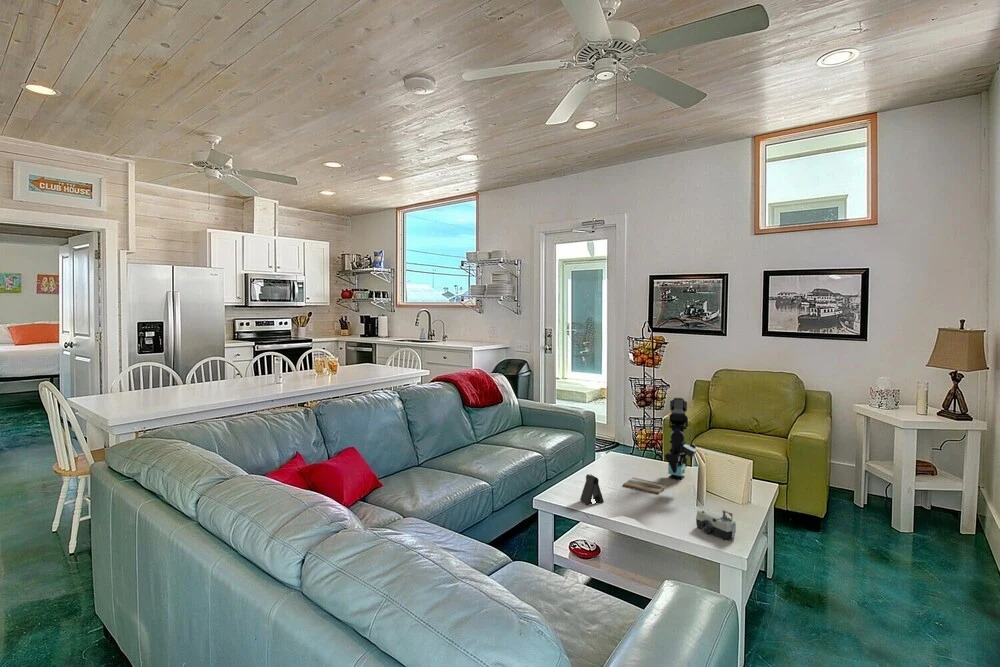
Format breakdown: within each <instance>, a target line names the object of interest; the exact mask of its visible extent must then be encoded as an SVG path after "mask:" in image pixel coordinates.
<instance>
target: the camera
mask: <svg viewBox="0 0 1000 667" xmlns="http://www.w3.org/2000/svg"><path fill="white" fill-rule="evenodd" d="M726 513H727V514H726ZM728 515H729V516H730V517H728ZM695 522H696V523H695V524H696V528H697V529H699V530H701V531H702V532H703V533H704V534H705V535H709V534H710V535H712V536H714V537H717V538H719V539H721V540H723V541H730V540H732V539H735V536H736V530H737V524H736V520H734V519H733V512H731V511H728V510H725V509H722V514H719V513H717V512H713V511H711V510H710V509H706V508H702V509H699V510H696V516H695Z"/></svg>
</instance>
